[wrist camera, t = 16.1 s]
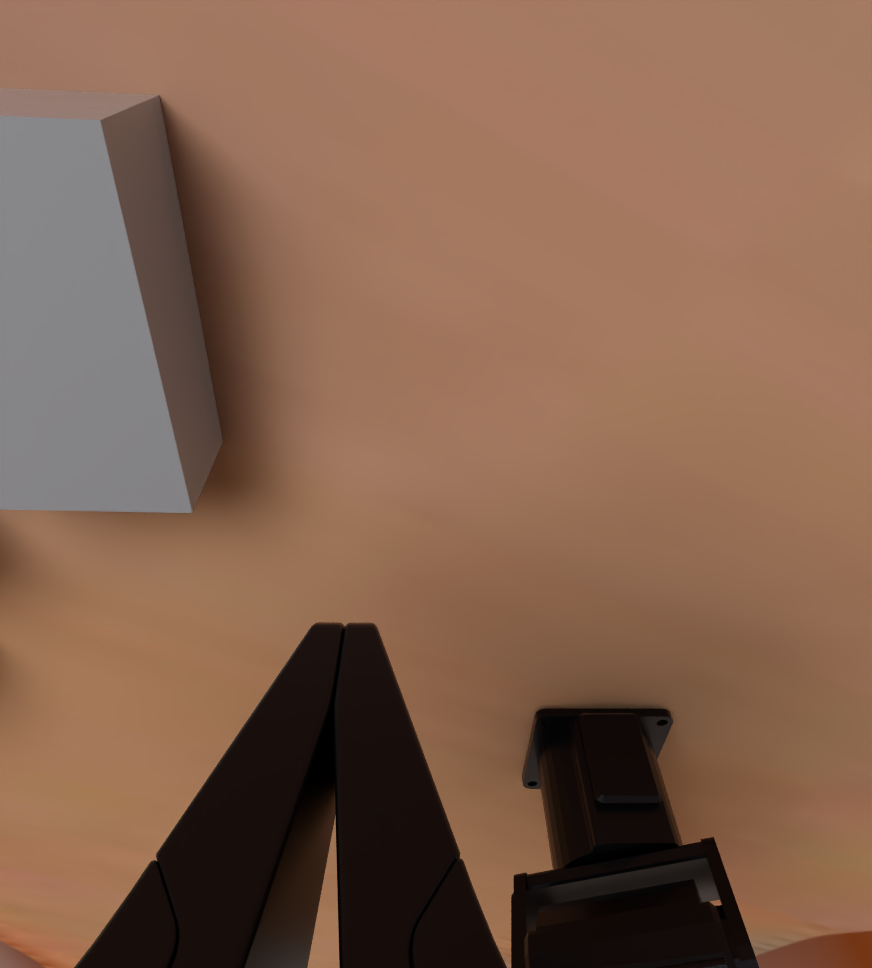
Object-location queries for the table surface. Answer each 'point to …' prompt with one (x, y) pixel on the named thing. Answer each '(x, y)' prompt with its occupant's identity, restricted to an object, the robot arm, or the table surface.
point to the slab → (97, 311)
